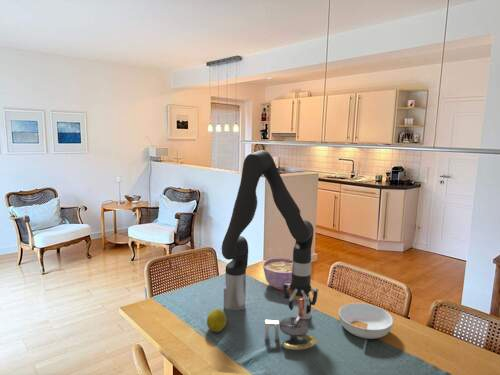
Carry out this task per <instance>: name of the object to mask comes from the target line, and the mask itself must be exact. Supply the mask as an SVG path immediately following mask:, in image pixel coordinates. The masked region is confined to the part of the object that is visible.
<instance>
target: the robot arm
mask: <svg viewBox="0 0 500 375" xmlns="http://www.w3.org/2000/svg"><path fill="white" fill-rule="evenodd" d="M241 170H242V171H241V177H240V183H239V187H238V191H237V195H236V199H235V201H234V206H233V209H232V214H231V217H230V221H229V224H228V228H227V230H226V233H225V235H224V237H223V240H222V243H221V253H222V256H223V258H224V259H225V260H231V261H230V262H228V263H227V264H226V265H225V287H224V288H223V308H224V309H225V310H228V311H244V310H245V309H246V306H247V305H246V301H247V300H246V299H247V298H246V297H247V296H246V295H247V292H246V291H247V289H246V287H247V286H246V285H247V283H246V281H247V280H246V279H247V278H246V277H247V267H248V260H249V245H248V241H247V239H246V238H245V237H244V236H242V235H241V234H242V233H243V232H244V231H245V230H246V228H247V227H248V226H249V225H250V224H251V223H252V221H253V219H254V217H255V215H256V212H257V207H258V197H257V187H258V184H259V181H260V178H261V177H262V176H264V178H265V179H266V181H267V183H268V184H269V187H270V190H271V194H272V198H273V199H272V200H273V201H274V204H275V206H276V208H277V211H278V212H279V213H280V215H281V216H282V217H283V219H284V220H285V223H286V226H287V228H288V230H289V233H290V234H291V237H292V238H293V239H294V240H295V244H294V246H293V249H292V260H293V262H292V279H291V284H288V283H285V284H284V286H283V287H284V289H283V294H284V299H285V300H287V301H288V308H289V310H290V311H293V310H294V303H295V302H294V300H295V299H294V298H295V297H301V298H302V297H304V299H305V301H306V302H307V309H306V314H308V313H310V312H311V311H312V306H316V303H317V301H318V296H319V294H318V293H319V289H318V288H312V286H311V282H312V281H311V280H312V279H311V278H312V245H313V240H314V225H313V224H312V223H311V222H310V221H308V220H305V219H303V217H302V216H301V209H300V207H299V205H297V202H296V201H295V200H294V198H293V197H292V195H291V193H290V192H289V190H288V188H287V187H286V184H285V182H284V180H283V178H282V176H281V173H280V172H279V169H278V168H277V164H276V162H275V161H274V159H273V157H272V155H271V154H270V152H268V151H267V150H261V149H260V150H257V151H254V152H251V153H250V154H248V155H246V156H245V158H244V160H243V163H242V169H241ZM290 289H291V291H292V293H291V295H290ZM310 293H311V294H312V295H313V296H312V298H311V296H310Z"/></svg>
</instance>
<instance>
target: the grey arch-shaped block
mask: <svg viewBox="0 0 500 375" xmlns="http://www.w3.org/2000/svg"><path fill="white" fill-rule="evenodd" d="M264 322H265V323H264V340H266V341H267V340H268V341H269V335H270V334H269V330H270V329H269V328H270V327H274V341H279V334H280V333H279V331H280V322H279V320H277V319H276V320H274V319H265V320H264Z"/></svg>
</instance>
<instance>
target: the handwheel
mask: <svg viewBox="0 0 500 375" xmlns="http://www.w3.org/2000/svg"><path fill="white" fill-rule="evenodd" d="M297 308H298V310H297V312H298V316H297V317H295V316H294V317H293V316H290V317H284V318H283V319H281V320H280V322H279V331H280V332H282V333H283V334H285V335H287V336H289V341H290V342H294V343H296V342H298V340H299V339H304V340H305V341H308V342H306V343H305V342H304V343H301V344H300V343H299V344H297V343H296V344H294V343H293V344H292V343H288V342H284V343H283V344H282V347H283V348H284V349H289V350H307V349H309V348H312V347H313V346H315V344H317V343H318V338H317V337H315V336H312V335H308V334H307V333H308V332H309V330H310V329H309V328H310V325H309V322H307V321H306V319H302V318H301V317H304V299H303V298H302V297H301V298H298V307H297Z"/></svg>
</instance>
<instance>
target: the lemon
mask: <svg viewBox="0 0 500 375" xmlns="http://www.w3.org/2000/svg"><path fill="white" fill-rule="evenodd" d="M206 325H207V327H208V329H209V330H210V331H212V332H213V333H219V332H221V331H223V330H224V329H225V326H226V325H227V316H226V314H225V312H224V311H223V310H221V309H218V308H217V309H213V310H211V311H210V313H208V315H207V318H206Z"/></svg>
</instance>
